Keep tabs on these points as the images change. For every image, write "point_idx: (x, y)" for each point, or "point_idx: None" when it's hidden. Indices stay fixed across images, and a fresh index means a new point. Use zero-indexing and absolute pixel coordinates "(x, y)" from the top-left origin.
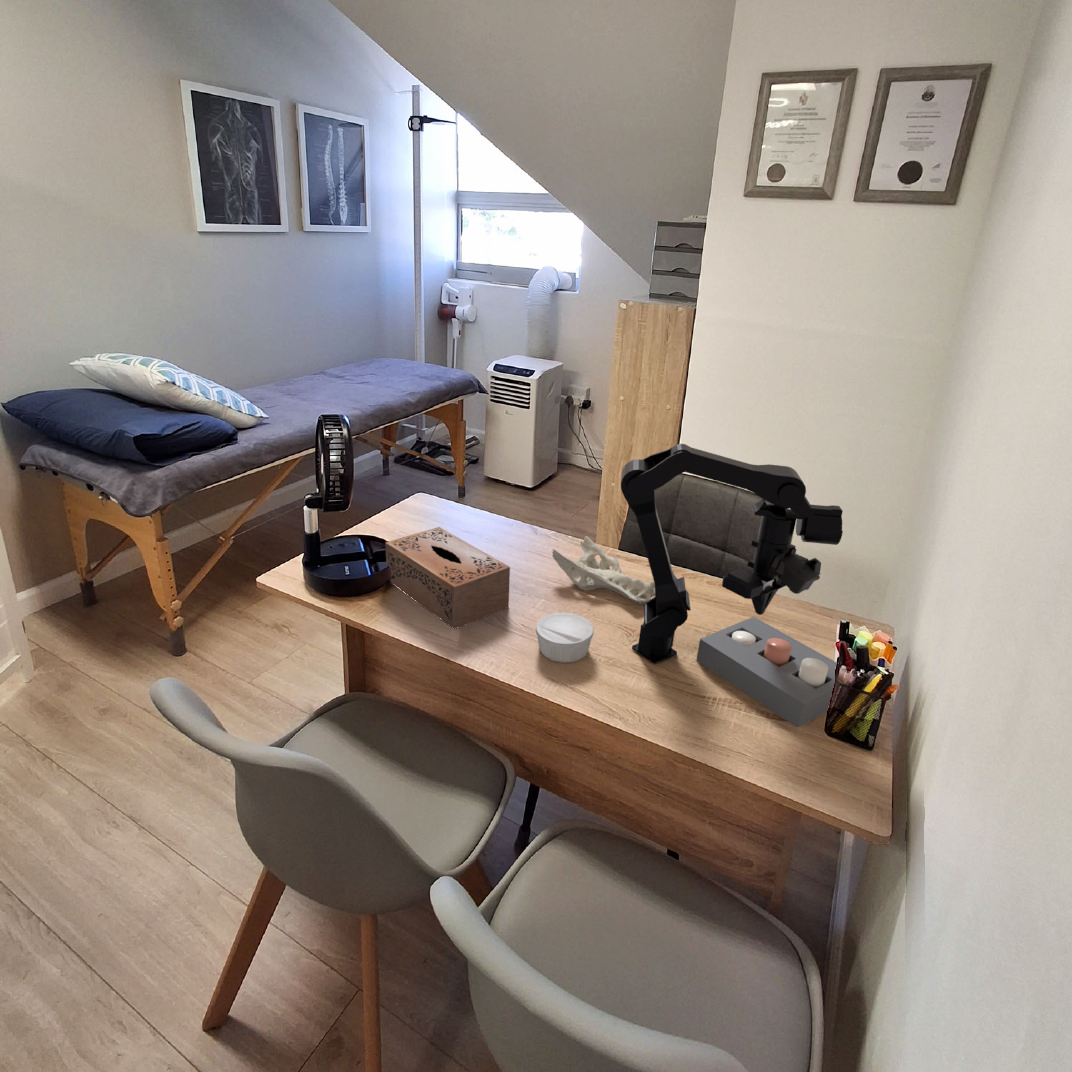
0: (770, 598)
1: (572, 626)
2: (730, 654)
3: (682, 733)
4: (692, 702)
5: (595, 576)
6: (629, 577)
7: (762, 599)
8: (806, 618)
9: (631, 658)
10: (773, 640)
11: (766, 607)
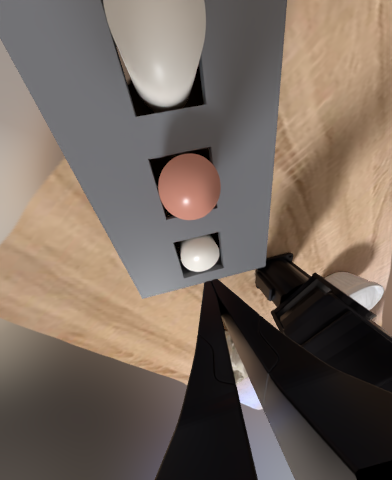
0: (216, 338)
1: None
2: (261, 220)
3: (382, 123)
4: (317, 177)
5: None
6: (234, 364)
7: (279, 333)
8: (21, 293)
9: (298, 265)
10: (191, 210)
11: (206, 298)
